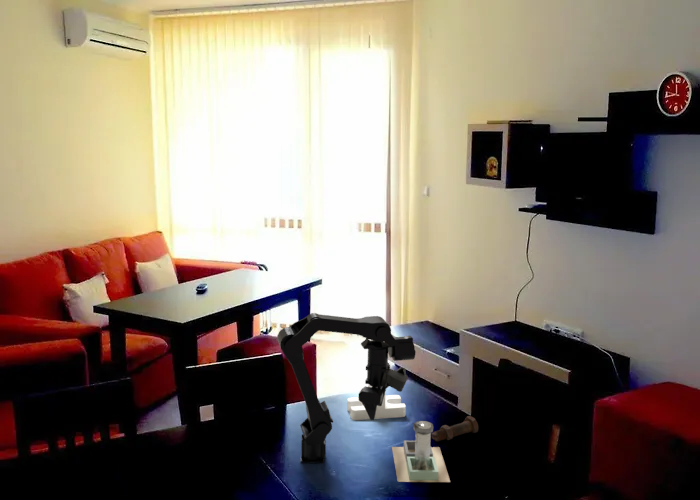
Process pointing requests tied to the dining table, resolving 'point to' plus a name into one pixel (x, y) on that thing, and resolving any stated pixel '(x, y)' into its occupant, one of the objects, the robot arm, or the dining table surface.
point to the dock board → (402, 467)
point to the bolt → (456, 429)
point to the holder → (411, 446)
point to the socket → (422, 473)
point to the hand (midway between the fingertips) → (376, 412)
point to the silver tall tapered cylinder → (422, 444)
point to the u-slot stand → (387, 410)
